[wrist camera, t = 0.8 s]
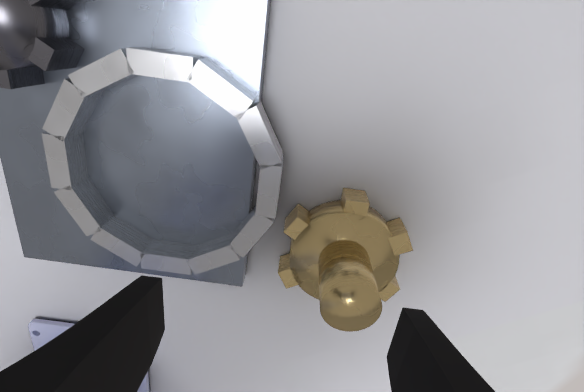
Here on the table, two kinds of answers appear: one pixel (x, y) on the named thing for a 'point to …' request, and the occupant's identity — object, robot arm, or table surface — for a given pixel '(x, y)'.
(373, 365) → the table surface
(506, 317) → the table surface
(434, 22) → the table surface
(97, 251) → the carrier plate
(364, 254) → the planet gear
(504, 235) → the table surface
